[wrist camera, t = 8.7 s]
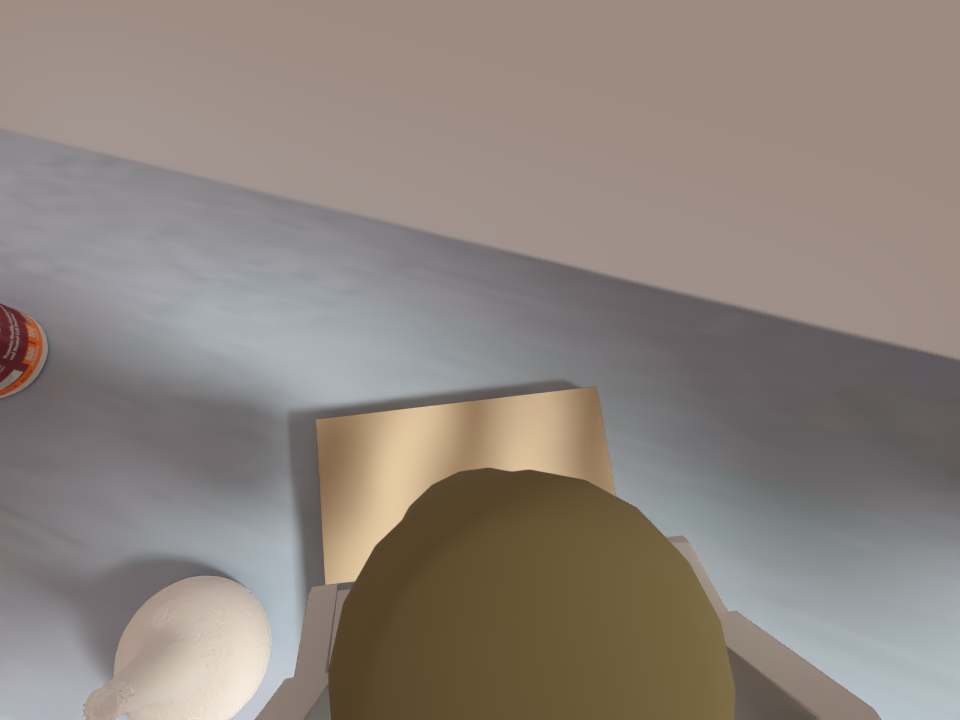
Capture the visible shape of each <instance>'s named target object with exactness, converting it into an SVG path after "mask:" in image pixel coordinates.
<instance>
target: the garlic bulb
mask: <svg viewBox="0 0 960 720" xmlns="http://www.w3.org/2000/svg"><path fill="white" fill-rule="evenodd" d="M270 653H271V630H270V625H269V622H268V618H267V616H266V613H265V611H264V609H263V607H262V605H261V603H260V602H259V600H258V599H257V598H256V597H255V596H254V595H253V594H252V593H251V592H250V591H249V590H248V589H247V588H245V587H244V586H243V585H241V584H239V583H237V582H235V581H233V580H230V579H227V578H223V577H220V576H195V577H190V578H185V579H183V580H180V581H177V582H175V583H173V584H171V585H169V586H167V587H165V588H164V589H162V590H160V591H159V592H157V593H156V594H155V595H153V596H152V597H151V598H150V599H148V600H147V601H146V602H145V603H144V604H143V605H142V606H141V607H140V609H139V610H138V611H137V612H136V613H135V615H134V616H133V617H132V619H131V620H130V622H129V624H128V625H127V627H126V628H125V630H124V632H123V634H122V636H121V639H120V642H119V645H118V648H117V652H116V656H115V662H114V675H113V676H114V677H113V678H112V679H111V680H109V681H108V682H107V684H106V685H104V686H103V687H102V688H101V689H98V690H96V691H94V692H93V693H92V694H91V695H90V696H89V698H88V699H87V701H86V703H85V704H84V706H85V708H84V710H83V711H84V715H83V716H87V717H86V720H115V718H116V717H117V716H120V715H122V714H125V713H126V714H127V715H128V716H129V717H130V719H131V720H229V719H230V718H231V717H232V716H234V715H235V714H236V713H237V712H239V711H240V710H241V709H242V708H243V706H244V705H245V704H246V703H247V702H248V701H249V700H250V699H251V697H252V696H253V695H254V693H255V692H256V690H257V688H258V687H259V685H260V683H261V681H262V679H263V677H264V675H265V672H266V669H267V666H268V663H269V658H270Z"/></svg>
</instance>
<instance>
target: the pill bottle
mask: <svg viewBox="0 0 960 720" xmlns="http://www.w3.org/2000/svg"><path fill="white" fill-rule="evenodd" d="M47 354H48V344H47V338H46V334H45V332H44V330H43V328H42V327H41V325H40V324H39V323H38V322H37V321H36V320H35V319H33V318H32V317H30V316H29V315H27V314H24V313H22V312H19V311H17V310H14V309H12V308H9V307H7V306H5V305H2V304H0V398H3V397H7V396H9V395H12V394H15V393H17V392H19V391H21V390H22V389H24V388H26V387H27V386H28V385H29V384H30V383H31V382H33V381H34V379H35V378H36V377H37V376H38V374H39V373H40V372H41V370H42V368H43V366H44V364H45V361H46V358H47Z"/></svg>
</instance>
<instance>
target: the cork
mask: <svg viewBox="0 0 960 720" xmlns="http://www.w3.org/2000/svg"><path fill="white" fill-rule="evenodd" d="M328 682H329V699H330V715H331V720H734V707H735V690H736V689H735V684H734V680H733V675H732V671H731V666H730V662H729V657H728V652H727V648H726V643H725V639H724V634H723V630H722V625H721V621H720V619H719V617H718V615H717V614H716V612H715V610H714V608H713V606H712V604H711V602H710V600H709V599H708V597H707V595H706V593H705V591H704V589H703V587H702V585H701V584H700V582H699V580H698V578H697V576H696V574H695V572H694V570H693V569H692V567H691V565H690V563H689V562H688V561H687V559H686V558H685V557H684V556H683V555H682V554H681V553H680V551H679V550H678V549H677V548H676V547H675V546H674V545H673V544H672V543H671V542H670V541H669V540H668V539H667V538H666V537H665V536H664V535H663V534H662V533H661V532H660V531H659V530H658V529H657V528H656V527H655V526H654V525H653V524H652V523H651V522H650V521H649V520H648V519H647V518H646V517H645V516H644V515H643V514H642V513H641V512H640V511H639V509H638V508H636V507H634V506H633V505H631V504H629V503H627V502H625V501H623V500H622V499H620V498H618V497H616V496H614V495H612V494H610V493H609V492H607V491H605V490H603V489H601V488H599V487H598V486H596V485H594V484H592V483H590V482H588V481H587V480H584V479H578V478H573V477H568V476H562V475H557V474H552V473H546V472H541V471H536V470H530V469H528V470H520V471H513V472H511V471H505V470H500V469H495V468H489V467H488V468H481V469H474V470H466V471H459V472H457V473H455V474H453V475H451V476H449V477H447V478H445V479H443V480H441V481H439V482H437V483H435V484H432V485H431V486H430V487H429V488H428V489H427V490H426V491H425V492H424V493H423V494H422V495H421V496H420V497H419V498H418V499H417V500H415V501H414V502H413V503H412V504H411V505H410V506H409V508H408V510H407V511H406V513H405V515H404V517H403V519H402V520H401V521H400V522H399V523H398V524H397V525H396V526H395V527H394V528H393V529H392V530H391V531H390V532H389V533H388V534H387V535H386V536H385V537H384V538H383V539H382V540H381V541H380V542H379V543H378V544H376V545H375V547H374V549H373V551H372V552H371V554H370V556H369V558H368V559H367V561H366V563H365V565H364V567H363V568H362V570H361V572H360V574H359V576H358V577H357V579H356V581H355V583H354V585H353V586H352V588H351V590H350V592H349V594H348V595H347V597H346V599H345V601H344V602H343V606H342V611H341V615H340V620H339V624H338V628H337V633H336V637H335V642H334V646H333V650H332V655H331V659H330V664H329V668H328Z"/></svg>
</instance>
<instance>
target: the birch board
mask: <svg viewBox="0 0 960 720" xmlns="http://www.w3.org/2000/svg"><path fill="white" fill-rule="evenodd" d="M316 429H317V447H318V465H319V482H320V500H321V518H322V535H323V553H324V571H325V585H328V584H335V583H344V582H353V581H356V579H357V577H358V576H359V574H360V572H361V570H362V568H363V567H364V565H365V563H366V561H367V559H368V558H369V556H370V554H371V552H372V551H373V549H374V547H375V545H376V544H378V543H379V542H380V541H381V540H382V539H383V538H384V537H385V536H386V535H387V534H388V533H389V532H390V531H391V530H392V529H393V528H394V527H395V526H396V525H397V524H398V523H399V522H400V521H401V520H402V519H403V517H404V515H405V513H406V511H407V510H408V508H409V506H410V505H411V504H412V503H413V502H414V501H415V500H417V499H418V498H419V497H420V496H421V495H422V494H423V493H424V492H425V491H426V490H427V489H428V488H429V487H430V486H431V485H432V484H435V483H437V482H439V481H441V480H443V479H445V478H447V477H449V476H451V475H453V474H455V473H457V472H459V471H466V470H474V469H481V468H488V467H489V468H495V469H500V470H505V471H511V472H513V471H520V470H528V469H530V470H536V471H541V472H546V473H552V474H557V475H562V476H568V477H573V478H578V479H584V480H587V481H588V482H590V483H592V484H594V485H596V486H598V487H599V488H601V489H603V490H605V491H607V492H609V493H610V494H612V495H614V496H616V494H615V488H614V482H613V477H612V471H611V466H610V460H609V454H608V449H607V443H606V438H605V432H604V427H603V421H602V415H601V410H600V404H599V399H598V393H597V387H596V386H595V387H587V388H578V389H570V390H561V391H553V392H544V393H536V394H528V395H519V396H511V397H502V398H494V399H485V400H477V401H468V402H460V403H451V404H443V405H435V406H426V407H418V408H409V409H401V410H392V411H384V412H375V413H367V414H358V415H350V416H342V417H333V418H325V419H316Z"/></svg>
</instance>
